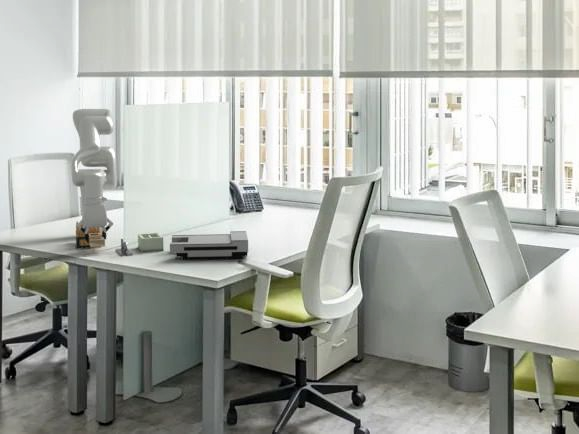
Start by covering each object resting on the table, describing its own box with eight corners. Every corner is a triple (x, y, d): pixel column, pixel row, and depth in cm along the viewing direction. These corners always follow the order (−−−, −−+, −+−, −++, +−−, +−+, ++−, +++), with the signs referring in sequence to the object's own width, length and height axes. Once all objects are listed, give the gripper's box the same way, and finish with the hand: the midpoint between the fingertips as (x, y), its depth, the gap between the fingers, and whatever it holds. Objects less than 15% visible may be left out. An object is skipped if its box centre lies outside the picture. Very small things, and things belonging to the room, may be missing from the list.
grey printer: (172, 250, 328) (172, 232, 326) (246, 249, 331) (245, 231, 330) (170, 261, 308) (169, 242, 306) (248, 260, 311) (248, 240, 309)
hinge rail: (116, 249, 328) (115, 238, 327) (127, 249, 330) (127, 237, 329) (120, 256, 316) (120, 244, 315) (132, 255, 318) (132, 243, 317)
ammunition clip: (76, 248, 331) (74, 221, 328) (76, 247, 332) (74, 221, 330) (101, 247, 333) (100, 220, 331) (101, 246, 335) (100, 220, 333)
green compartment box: (138, 247, 333) (137, 234, 332) (158, 245, 337) (157, 232, 336) (142, 252, 323) (142, 238, 322) (163, 250, 326) (163, 237, 325)
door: (86, 240, 330) (86, 233, 329) (100, 239, 332) (100, 232, 331) (90, 247, 318) (90, 240, 317) (105, 246, 320) (104, 239, 319)
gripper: (113, 198, 327) (114, 238, 331) (72, 200, 321) (74, 241, 325) (115, 201, 321) (117, 242, 324) (74, 203, 314) (76, 245, 318)
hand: (95, 241), depth 325 cm, fingers closed on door, 6 cm apart
